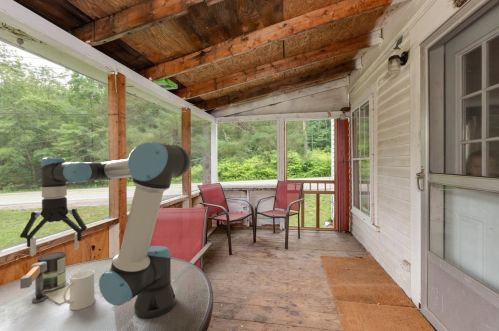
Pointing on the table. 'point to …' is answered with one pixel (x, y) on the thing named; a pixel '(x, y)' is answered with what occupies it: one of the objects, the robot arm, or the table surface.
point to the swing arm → (32, 274)
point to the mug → (81, 290)
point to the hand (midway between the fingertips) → (55, 252)
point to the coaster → (59, 296)
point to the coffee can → (53, 270)
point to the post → (39, 289)
